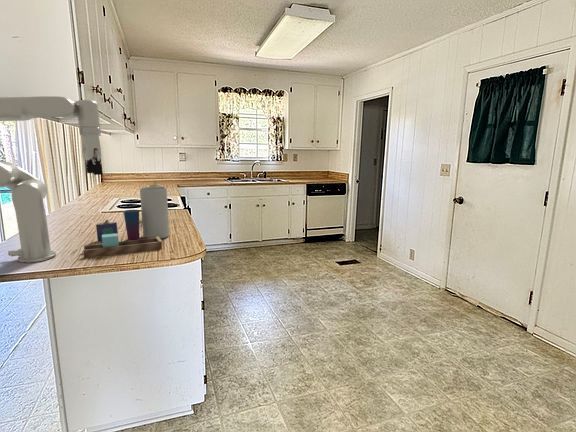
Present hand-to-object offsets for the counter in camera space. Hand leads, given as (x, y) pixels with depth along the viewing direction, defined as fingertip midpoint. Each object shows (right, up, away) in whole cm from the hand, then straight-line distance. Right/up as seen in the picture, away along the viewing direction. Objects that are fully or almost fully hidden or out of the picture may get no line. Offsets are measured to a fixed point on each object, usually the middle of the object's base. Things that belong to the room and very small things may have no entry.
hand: (94, 173), depth 141 cm
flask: (-6, -30, +23) cm, 38 cm away
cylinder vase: (+13, -29, +32) cm, 45 cm away
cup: (+6, -30, +24) cm, 39 cm away
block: (+5, -33, +3) cm, 34 cm away
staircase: (-2, -20, +75) cm, 78 cm away
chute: (+10, -34, +6) cm, 36 cm away
